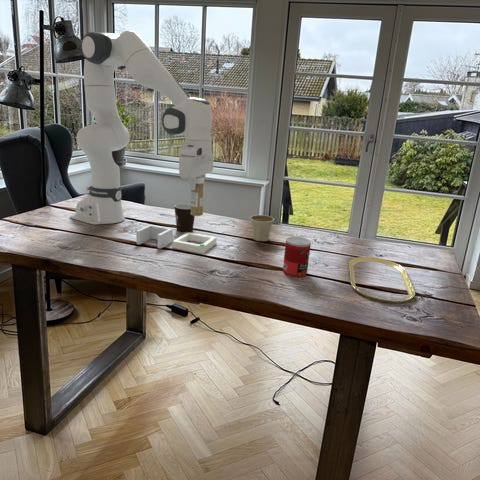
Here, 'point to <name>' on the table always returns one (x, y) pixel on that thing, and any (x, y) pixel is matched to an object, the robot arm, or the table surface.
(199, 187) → the sprinkles bottle
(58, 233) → the table surface
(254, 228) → the flower pot
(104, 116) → the robot arm
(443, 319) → the table surface
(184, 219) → the dark brown cup
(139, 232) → the bracket
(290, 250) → the canned food
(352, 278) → the gold ring
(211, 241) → the block
